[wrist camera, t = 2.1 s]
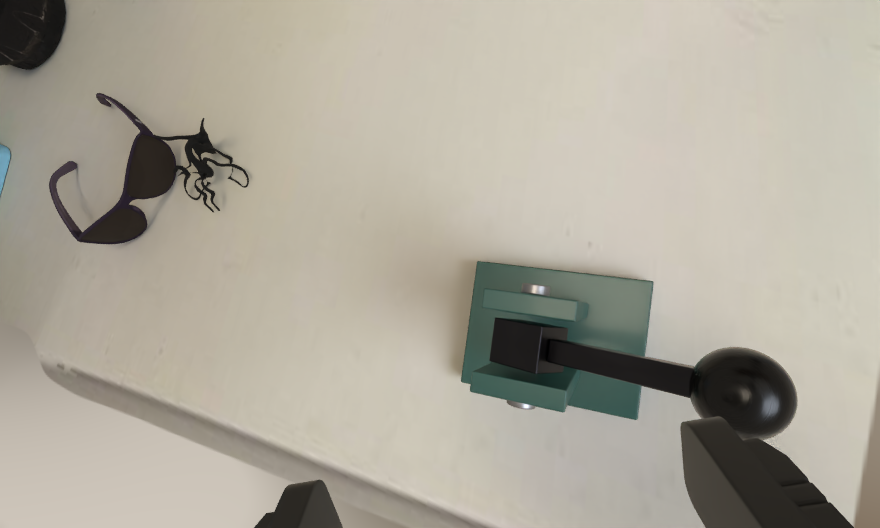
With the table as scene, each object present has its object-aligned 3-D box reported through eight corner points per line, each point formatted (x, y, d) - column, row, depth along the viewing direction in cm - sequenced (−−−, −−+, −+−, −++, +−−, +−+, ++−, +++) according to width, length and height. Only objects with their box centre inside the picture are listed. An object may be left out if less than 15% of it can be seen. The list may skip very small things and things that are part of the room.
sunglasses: (131, 262, 49) (81, 257, 44) (63, 185, 54) (11, 173, 49) (195, 155, 47) (150, 138, 42) (118, 86, 52) (70, 64, 47)
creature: (261, 203, 45) (244, 122, 44) (219, 203, 40) (199, 112, 39) (200, 218, 47) (183, 141, 47) (154, 220, 42) (134, 134, 42)
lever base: (651, 282, 31) (678, 265, 19) (636, 415, 30) (653, 483, 19) (482, 262, 35) (417, 238, 23) (466, 379, 35) (392, 415, 23)
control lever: (808, 356, 16) (793, 357, 14) (799, 447, 16) (782, 463, 14) (527, 310, 25) (490, 306, 23) (519, 369, 25) (482, 371, 22)
